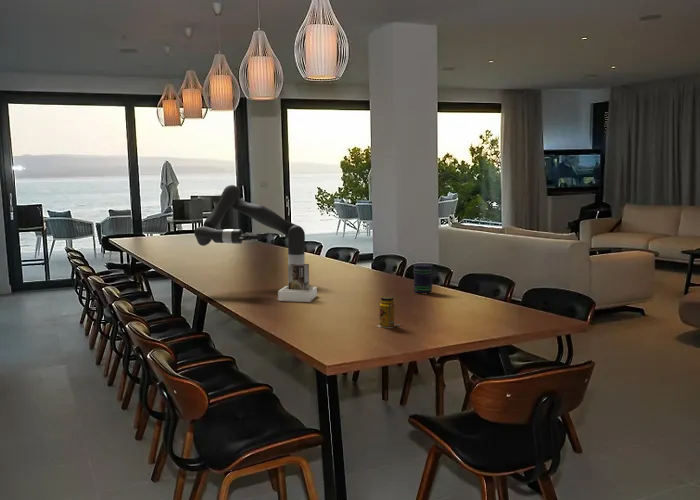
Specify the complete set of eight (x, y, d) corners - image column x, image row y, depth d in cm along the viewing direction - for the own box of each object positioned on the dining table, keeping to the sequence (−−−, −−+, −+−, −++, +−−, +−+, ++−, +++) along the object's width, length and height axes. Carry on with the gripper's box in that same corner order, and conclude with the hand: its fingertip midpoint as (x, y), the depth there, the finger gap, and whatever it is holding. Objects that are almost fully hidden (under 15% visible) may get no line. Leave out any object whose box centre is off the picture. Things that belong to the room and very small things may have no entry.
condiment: (375, 326, 270) (375, 297, 269) (387, 322, 277) (387, 294, 275) (389, 329, 266) (389, 299, 264) (401, 325, 272) (402, 296, 271)
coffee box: (309, 295, 334) (309, 263, 333) (304, 297, 328) (304, 265, 326) (292, 294, 337) (292, 263, 335) (287, 296, 331) (287, 264, 329)
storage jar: (434, 292, 351) (434, 264, 349) (428, 295, 342) (429, 266, 340) (416, 290, 355) (417, 263, 353) (410, 293, 346) (410, 265, 344)
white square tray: (286, 295, 339) (286, 285, 339) (316, 296, 337) (316, 286, 336) (278, 300, 324) (278, 291, 323) (309, 301, 321) (309, 292, 321)
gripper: (227, 230, 335) (258, 230, 333) (236, 228, 349) (266, 228, 346) (228, 245, 336) (259, 245, 333) (237, 242, 350) (266, 242, 347)
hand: (262, 236), depth 340 cm, fingers open, 8 cm apart
